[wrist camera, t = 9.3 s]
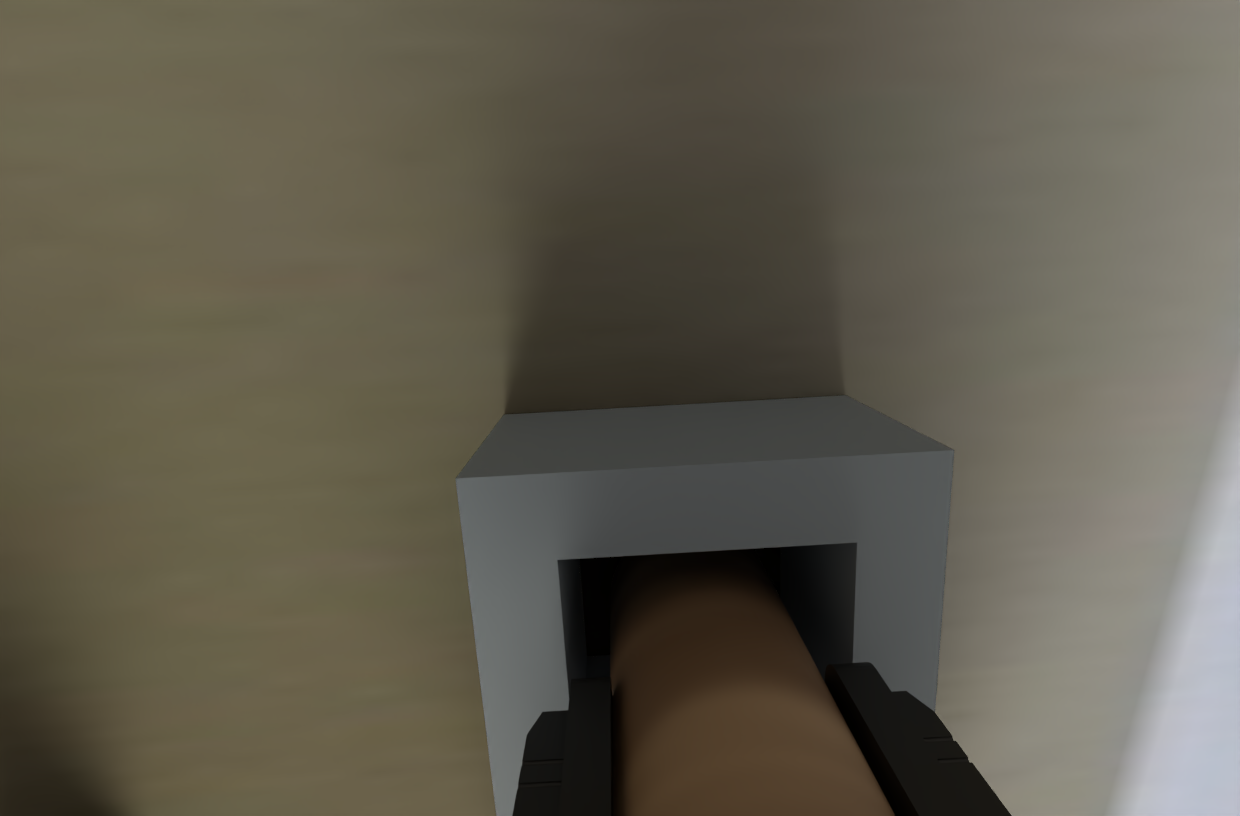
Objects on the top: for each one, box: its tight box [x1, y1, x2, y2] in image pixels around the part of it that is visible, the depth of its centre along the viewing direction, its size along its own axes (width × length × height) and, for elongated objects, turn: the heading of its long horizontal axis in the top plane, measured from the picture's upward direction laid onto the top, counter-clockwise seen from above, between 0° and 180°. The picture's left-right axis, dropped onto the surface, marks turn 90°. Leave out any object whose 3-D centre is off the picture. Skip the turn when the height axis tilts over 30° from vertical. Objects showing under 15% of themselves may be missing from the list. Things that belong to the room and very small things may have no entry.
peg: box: [610, 549, 895, 816], centre depth 9 cm, size 4×4×12 cm
